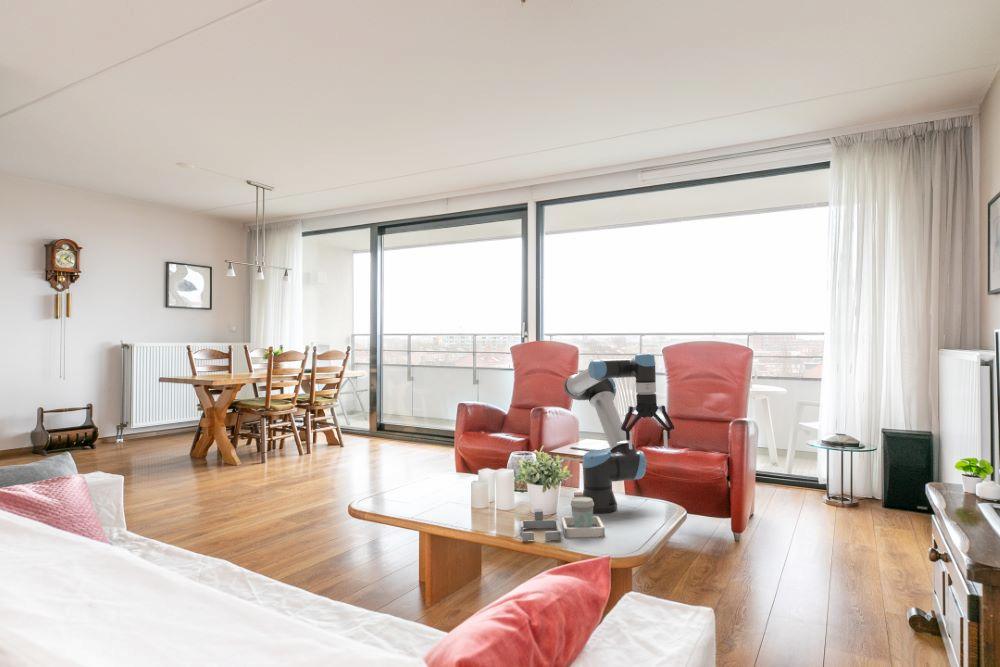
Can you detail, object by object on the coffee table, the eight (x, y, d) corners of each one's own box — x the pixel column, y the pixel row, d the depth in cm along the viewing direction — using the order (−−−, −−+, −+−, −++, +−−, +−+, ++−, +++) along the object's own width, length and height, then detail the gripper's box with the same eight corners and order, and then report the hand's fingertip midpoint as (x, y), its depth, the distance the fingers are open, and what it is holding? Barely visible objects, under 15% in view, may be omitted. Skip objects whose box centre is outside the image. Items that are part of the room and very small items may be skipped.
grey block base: (520, 525, 226) (519, 509, 226) (557, 524, 226) (556, 508, 226) (521, 541, 207) (520, 524, 207) (561, 540, 207) (560, 523, 207)
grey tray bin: (560, 521, 229) (559, 492, 229) (597, 520, 229) (596, 491, 229) (565, 537, 210) (563, 505, 210) (604, 536, 210) (603, 504, 210)
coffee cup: (566, 532, 215) (565, 499, 216) (582, 527, 221) (581, 495, 221) (583, 538, 209) (582, 503, 209) (600, 532, 214) (599, 499, 214)
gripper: (615, 395, 228) (617, 450, 228) (681, 393, 228) (683, 448, 227) (612, 393, 236) (614, 447, 235) (675, 391, 235) (677, 445, 235)
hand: (648, 448), depth 231 cm, fingers open, 13 cm apart
